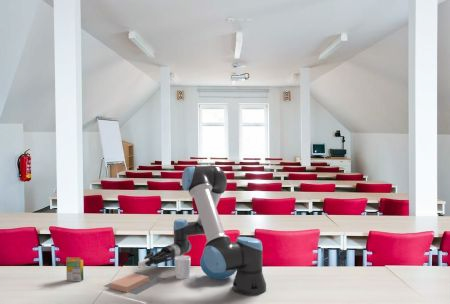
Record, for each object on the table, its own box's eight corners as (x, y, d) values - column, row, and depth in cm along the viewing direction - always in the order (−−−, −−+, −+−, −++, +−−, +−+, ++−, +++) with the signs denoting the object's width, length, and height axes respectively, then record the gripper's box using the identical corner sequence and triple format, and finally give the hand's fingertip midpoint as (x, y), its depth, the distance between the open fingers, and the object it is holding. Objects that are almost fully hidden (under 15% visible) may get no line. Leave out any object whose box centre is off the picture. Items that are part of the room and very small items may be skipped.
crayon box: (83, 279, 194) (83, 255, 193) (80, 281, 191) (80, 257, 191) (69, 278, 195) (69, 255, 194) (66, 281, 192) (66, 257, 191)
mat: (167, 279, 193) (167, 278, 193) (136, 295, 174) (136, 294, 174) (135, 272, 203) (135, 271, 203) (103, 287, 183) (103, 286, 183)
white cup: (183, 281, 190) (183, 261, 190) (171, 278, 195) (171, 258, 194) (194, 277, 196) (194, 257, 196) (182, 273, 201) (182, 254, 201)
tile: (149, 276, 189) (126, 287, 176) (149, 281, 189) (126, 292, 176) (133, 273, 194) (110, 282, 181) (133, 278, 194) (110, 288, 181)
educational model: (238, 283, 187) (238, 252, 187) (199, 283, 188) (198, 252, 187) (238, 272, 203) (238, 243, 202) (201, 272, 203) (201, 243, 203)
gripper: (179, 261, 208) (150, 275, 187) (160, 257, 214) (129, 270, 194) (179, 247, 208) (150, 259, 187) (160, 243, 214) (129, 255, 194)
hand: (139, 265), depth 191 cm, fingers closed
